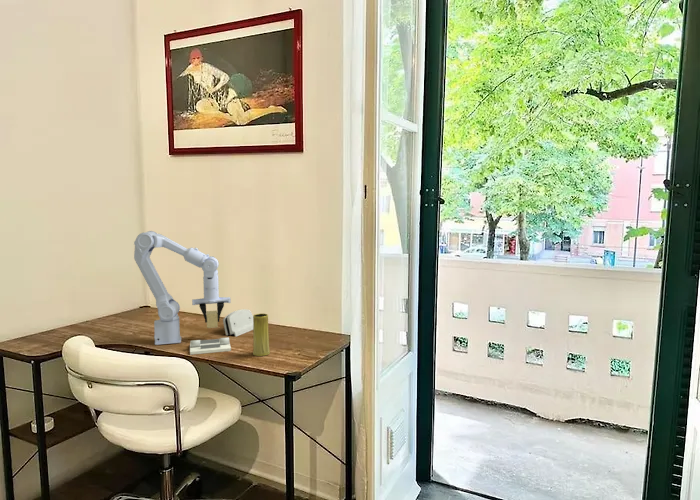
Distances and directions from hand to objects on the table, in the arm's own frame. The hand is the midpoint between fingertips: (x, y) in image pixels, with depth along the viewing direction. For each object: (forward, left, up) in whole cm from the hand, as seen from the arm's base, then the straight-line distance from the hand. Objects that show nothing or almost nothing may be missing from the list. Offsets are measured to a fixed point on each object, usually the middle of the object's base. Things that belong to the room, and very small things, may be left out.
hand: (212, 321), depth 197 cm
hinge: (+12, +10, -8) cm, 17 cm away
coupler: (0, 0, -2) cm, 2 cm away
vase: (+16, -24, -8) cm, 30 cm away
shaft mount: (-1, -11, -7) cm, 13 cm away
